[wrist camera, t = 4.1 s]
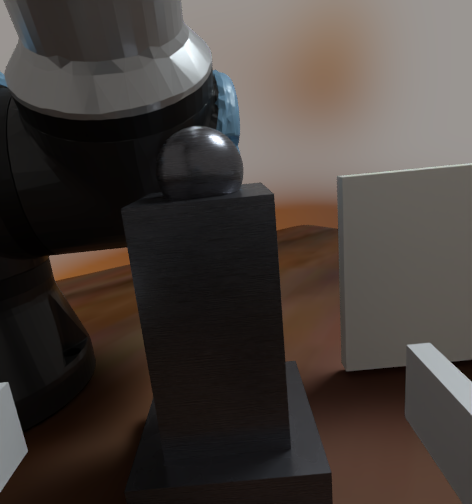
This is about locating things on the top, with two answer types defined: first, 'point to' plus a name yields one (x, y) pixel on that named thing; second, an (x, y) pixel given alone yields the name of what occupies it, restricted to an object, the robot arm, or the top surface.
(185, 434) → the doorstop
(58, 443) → the top surface
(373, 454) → the top surface
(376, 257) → the door
